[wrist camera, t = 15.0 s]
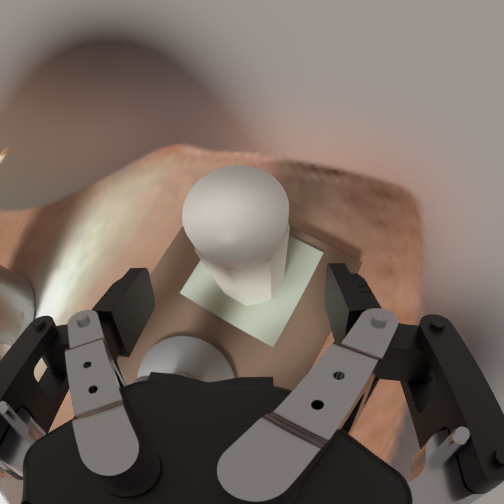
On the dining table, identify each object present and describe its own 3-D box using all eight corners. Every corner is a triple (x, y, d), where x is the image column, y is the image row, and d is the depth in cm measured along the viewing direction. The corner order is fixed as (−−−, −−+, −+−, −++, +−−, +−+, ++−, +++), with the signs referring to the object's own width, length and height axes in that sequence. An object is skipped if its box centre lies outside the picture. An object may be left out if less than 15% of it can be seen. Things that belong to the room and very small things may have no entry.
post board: (98, 379, 23) (36, 379, 14) (212, 196, 29) (191, 137, 21) (238, 475, 19) (222, 524, 11) (357, 267, 25) (393, 223, 17)
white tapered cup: (50, 493, 17) (15, 506, 10) (50, 522, 15) (19, 535, 8) (16, 461, 18) (-19, 468, 12) (16, 492, 16) (-15, 500, 9)
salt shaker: (208, 285, 24) (162, 228, 13) (240, 235, 25) (219, 153, 15) (262, 316, 22) (253, 279, 12) (293, 262, 24) (307, 189, 14)
